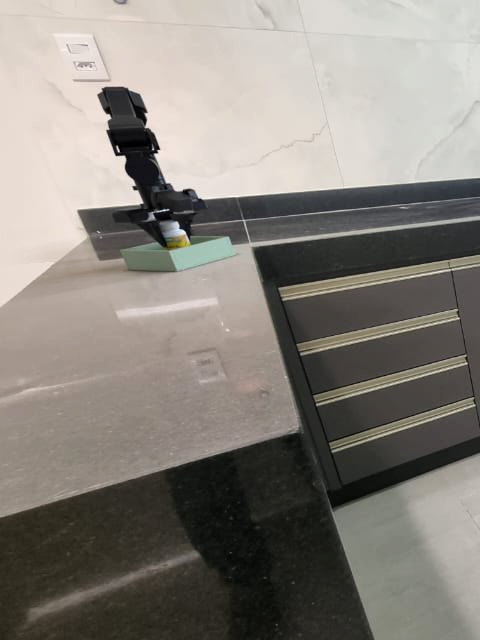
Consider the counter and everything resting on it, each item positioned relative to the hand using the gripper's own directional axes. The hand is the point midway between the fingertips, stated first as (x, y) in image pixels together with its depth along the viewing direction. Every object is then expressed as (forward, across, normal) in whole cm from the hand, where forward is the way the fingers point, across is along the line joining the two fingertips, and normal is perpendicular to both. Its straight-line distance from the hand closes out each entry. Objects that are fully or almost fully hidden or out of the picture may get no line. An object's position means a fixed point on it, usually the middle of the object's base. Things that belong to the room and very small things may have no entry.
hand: (176, 244), depth 134 cm
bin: (+4, 0, 0) cm, 4 cm away
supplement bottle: (+4, 0, 0) cm, 4 cm away
